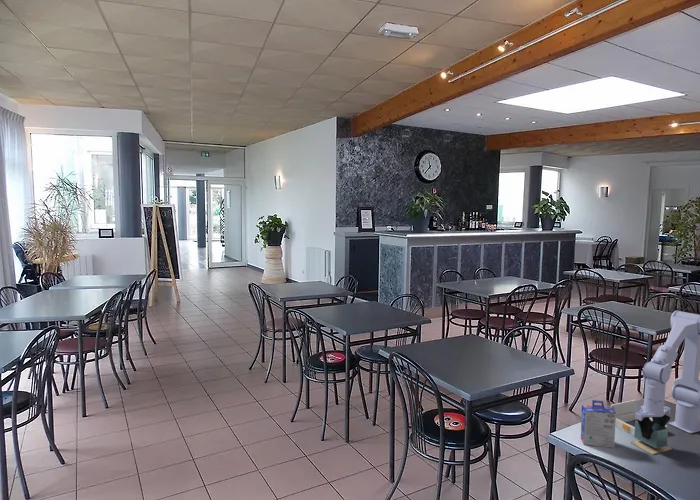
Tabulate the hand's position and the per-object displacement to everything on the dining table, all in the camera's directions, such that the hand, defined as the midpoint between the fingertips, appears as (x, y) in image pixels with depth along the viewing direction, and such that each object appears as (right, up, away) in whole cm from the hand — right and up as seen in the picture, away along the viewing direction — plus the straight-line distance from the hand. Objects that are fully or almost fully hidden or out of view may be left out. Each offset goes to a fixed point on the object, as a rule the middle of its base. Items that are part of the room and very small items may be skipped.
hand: (651, 436), depth 159 cm
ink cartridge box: (-17, -4, +3) cm, 18 cm away
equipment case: (+4, -2, +13) cm, 14 cm away
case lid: (+1, -1, +19) cm, 19 cm away
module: (0, -2, 0) cm, 2 cm away
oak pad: (0, -4, 0) cm, 3 cm away
